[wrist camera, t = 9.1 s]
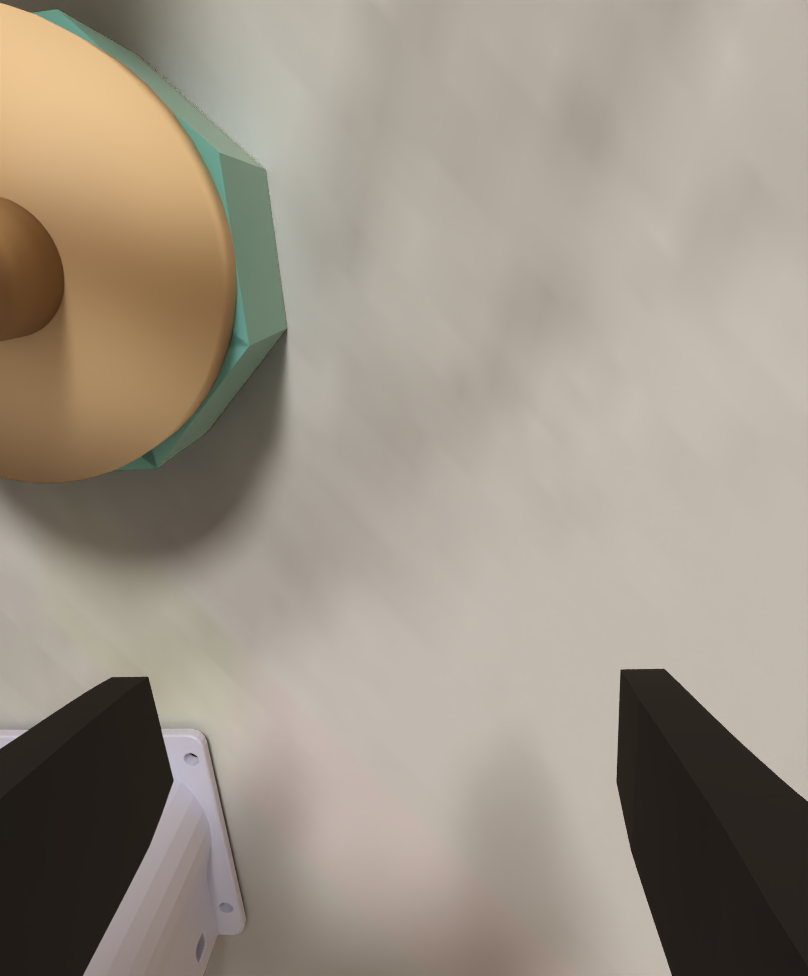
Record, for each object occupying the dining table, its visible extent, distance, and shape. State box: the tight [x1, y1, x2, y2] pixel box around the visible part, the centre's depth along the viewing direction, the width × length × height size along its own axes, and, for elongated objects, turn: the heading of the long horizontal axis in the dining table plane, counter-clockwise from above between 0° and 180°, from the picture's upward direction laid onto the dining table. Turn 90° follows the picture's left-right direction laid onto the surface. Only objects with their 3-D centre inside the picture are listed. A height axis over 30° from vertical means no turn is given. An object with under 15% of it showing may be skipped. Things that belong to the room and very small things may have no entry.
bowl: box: [32, 9, 287, 471], centre depth 16 cm, size 9×9×3 cm
